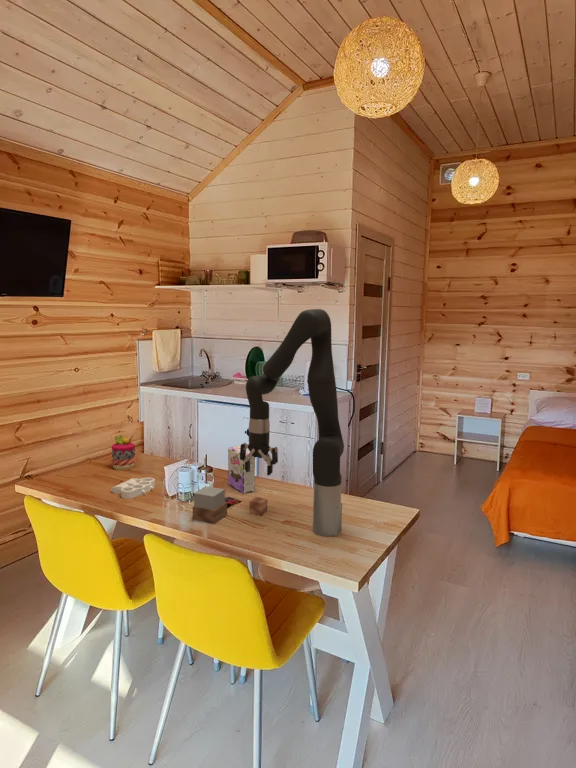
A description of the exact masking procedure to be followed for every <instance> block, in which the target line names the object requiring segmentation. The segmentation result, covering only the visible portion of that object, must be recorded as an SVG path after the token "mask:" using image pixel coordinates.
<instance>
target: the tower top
mask: <svg viewBox="0 0 576 768" xmlns="http://www.w3.org/2000/svg"><path fill="white" fill-rule="evenodd" d="M225 499H226V489H223V488H220V487H219V488H218V487H211V486H205V485H204V487H202V488H201V489H198V490H197V491H195V492H193V506H194V507H198V508H204V509H210V510H215V509H216V508H218V507H219V506H221V505H222V504H223V503H225V502H226V500H225Z"/></svg>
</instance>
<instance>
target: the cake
mask: <svg viewBox="0 0 576 768" xmlns="http://www.w3.org/2000/svg"><path fill="white" fill-rule="evenodd" d="M114 440H115V443H113V444H112V445H111V450H112V451H111V453H112V455H111V457H112V459H111V460H110V461H111V462H112V469H113V468H114V469H116V470H115V471H119V470H123V471H125V470H124V469H130V468H132V467H134V466H135V463H136V460H137V458H136V456H135V455H136V453H135V452H136V449H135V443H133V442H130V439H129V438H127V437H124V438H123V435H122V434H120V435H118V436H117V435H115V436H114ZM135 467H136V466H135ZM135 467H134V468H135ZM114 469H113V470H114ZM130 470H131V469H130Z"/></svg>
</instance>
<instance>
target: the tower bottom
mask: <svg viewBox="0 0 576 768" xmlns="http://www.w3.org/2000/svg"><path fill="white" fill-rule="evenodd" d="M224 516H225V517H227V516H228V502H227V501H225V503H223V504H222V505H221V506H219V507H218V508H216V509H215V510H210V509H204V508H198V507H194V505H193V506H192V521H198V522H203V523H207V524H214V525H215V524H217V523H218V522H219V521H221V520H222V519H224V518H225V517H224ZM220 519H221V520H220ZM216 522H217V523H216Z"/></svg>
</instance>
